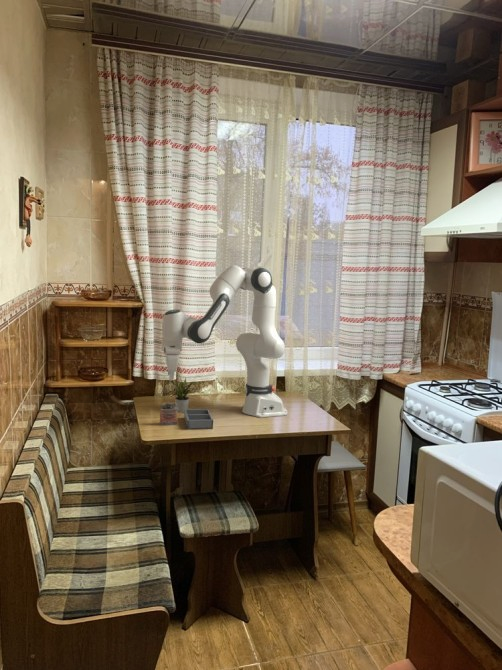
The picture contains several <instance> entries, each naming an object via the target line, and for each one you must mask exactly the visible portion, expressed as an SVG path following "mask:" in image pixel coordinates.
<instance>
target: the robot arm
mask: <svg viewBox="0 0 502 670" xmlns="http://www.w3.org/2000/svg"><path fill="white" fill-rule="evenodd" d="M271 274H272V273H271V272H270V271H269V270H268V269H267V268H263V267H254V266H252V267H251V266H250V267H243V268H242V267H240V266H239V265H235V264H233V265H230V266H228V267H227V268H225V270H223V271H222V272H221V273H220V274H219V276H218V277H217V278H215V280H213V282H212V283H211V285H210V287H209V295H210V298H211V299H212V304H211V306H210V307H209V308H208V309H207V311H205V312H206V313H204V315H203V316H202V317H201V318H195V317H193V316H189V315H188V314H186V313H184V312H183V311H182V310H180V309H172V310H171V309H170V310H168V311H166V312H164V314H163V317H162V325H161V331H162V337H161V351H162V352H163V354H164V356H165V365H166V367H167V374H168V376H169V378H168V379H169V381H173V380H174V379H175V373H176V372H177V371H178V366H179V358H180V355H181V352H182V348H183V339H188V340H191V341H192V342H194V343H196V344H204V343H205V342H207V341H208V340H210V337H211V335H212V333H213V330H214V329H215V327H216V324H217V323H218V321H219V320H220V319H221V318H222V316H223V314H225V311H226V310H227V308H228V307H229V305H230V302H231V300H232V299H233V297H234V296H235V295H236V293H237V292H238V291H239V290H240V289H241V290H244V291H251V292H253V295H254V297H253V306H252V314H251V315H252V316H251V321H252V323H253V325H255V326H256V327H257V328H258V330H259V331H258V332H259V334H258V333H253V332H244V333H240V334H239V335H238V336H237V338H236V341H235V347H236V350H237V352H238V353H239V354H241V356H242V358H243V360H244V363H245V365H246V366H245V367H246V376H247V377H246V384H245V392H244V393H245V398H244V404H243V406H242V411H241V412H242V413H244V414H245V415H249V416H253V417H257V418H261V419H262V418H271V417H283V416H287V415H288V410H287V409H286V407H284V403H283V399H281V398H280V397H279V396H278V395H277V394H276V393H274V392H275V391H276V387H275V386H273V385H272V384H270V375H271V370H270V368H269V366H268V365H267V364H265V362H264V361H263V358H265V359H269V360H271V359H273V360H274V359H275V360H276V359H280V358H282V357H283V355H284V354H285V351H286V346H285V345H286V344H285V341H284V340H283V339H282V338H281V337H280V335H279V334H278V332H277V328H276V311H277V310H276V309H277V290H276V286H274V285H273V276H272V275H271ZM174 381H175V380H174Z"/></svg>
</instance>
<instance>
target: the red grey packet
mask: <svg viewBox="0 0 502 670" xmlns="http://www.w3.org/2000/svg"><path fill="white" fill-rule="evenodd" d="M177 410H178V408H177V407H176V402H166V403H162V407H160V408H159V411H160V412H159V425H160V426H166V427H167V426H169V427H170V426H176V425H177V426H178V411H177Z"/></svg>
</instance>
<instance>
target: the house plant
mask: <svg viewBox="0 0 502 670" xmlns="http://www.w3.org/2000/svg"><path fill="white" fill-rule="evenodd" d="M172 381H173V383H171V385H172V386H173V387H174V388H175V389H176V390H172V391H170V393H175V394H176V396H175V398H174V401H175V402H174V403H176V406H175V407H177V408H178V410H177V413H184V409H189V404H190V397H188V394H192V393H193V394H194V395H196V392H195V391H192V390H191V389H193V387H192V385H194V384H195V385H198V383H197V382H196V380H194V381H191V383H189V384H187V378H186V377H185V379H184V380H182V379H181V378H180V384H181V385H180V384H179V385H178V382H176V381H175V380H172ZM195 382H196V383H195ZM174 384H175V385H174Z"/></svg>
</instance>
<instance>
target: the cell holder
mask: <svg viewBox="0 0 502 670" xmlns="http://www.w3.org/2000/svg"><path fill="white" fill-rule="evenodd" d="M183 413H184V415H183V417H184V422H185V425H186V429H187V430H189V431H191V430H213V429H214V419H213V417H212V414H211V412H210V410H209V408H197V409H196V408H195V409H194V408H190V409H189V408H188V409H184V412H183Z"/></svg>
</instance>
